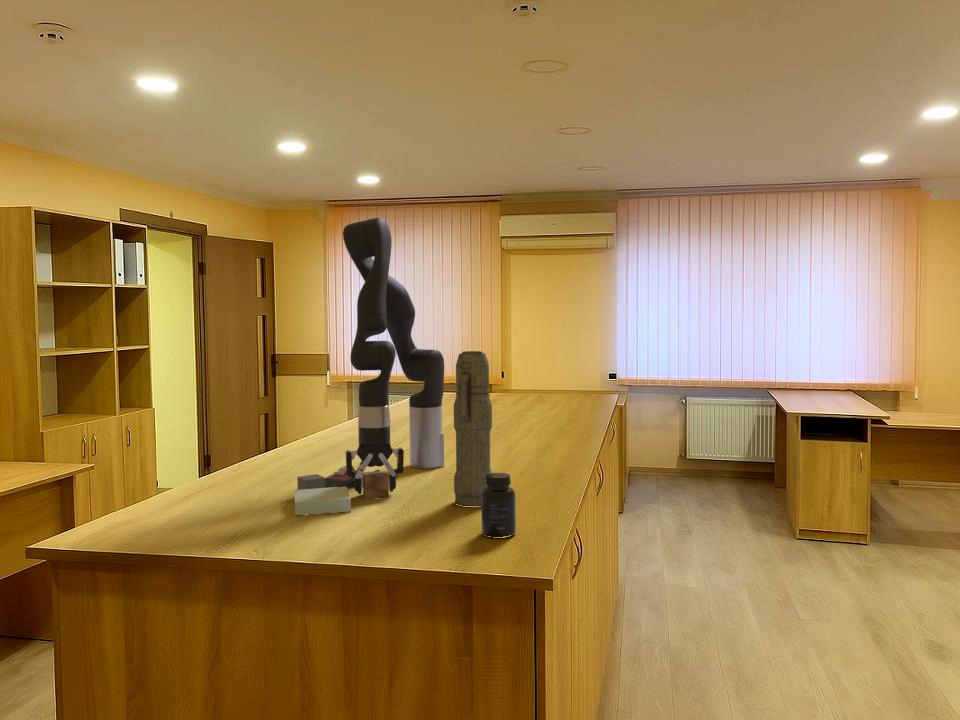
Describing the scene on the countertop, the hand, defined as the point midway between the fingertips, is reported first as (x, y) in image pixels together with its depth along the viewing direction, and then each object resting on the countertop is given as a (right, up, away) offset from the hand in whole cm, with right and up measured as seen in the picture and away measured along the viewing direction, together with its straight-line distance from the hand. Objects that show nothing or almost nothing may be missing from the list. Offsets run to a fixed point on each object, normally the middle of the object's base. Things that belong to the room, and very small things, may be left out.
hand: (375, 492), depth 185 cm
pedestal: (-11, -2, -10) cm, 15 cm away
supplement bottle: (+29, -3, -32) cm, 43 cm away
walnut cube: (0, -1, 0) cm, 1 cm away
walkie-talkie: (-8, -1, +15) cm, 17 cm away
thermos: (+24, -1, -7) cm, 25 cm away
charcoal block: (-15, -1, -1) cm, 15 cm away
